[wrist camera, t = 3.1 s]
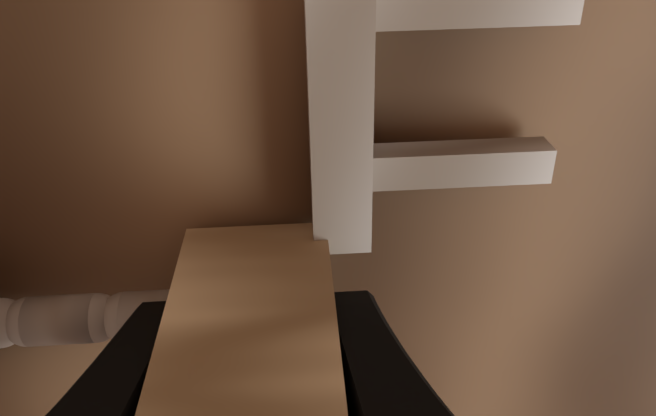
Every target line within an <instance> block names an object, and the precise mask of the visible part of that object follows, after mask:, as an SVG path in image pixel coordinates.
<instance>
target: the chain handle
mask: <svg viewBox="0 0 656 416" xmlns="http://www.w3.org/2000/svg"><path fill="white" fill-rule="evenodd" d="M584 1H585V0H304V11H305V38H306V65H307V92H308V119H309V146H310V173H311V201H312V223H298V224H277V225H256V226H235V227H213V228H192V229H186V232H185V236H184V239H183V243H182V247H181V250H180V254H179V257H178V261H177V265H176V268H175V272H174V276H173V279H172V283H171V286H170V289H164V290H145V291H125V292H119V293H116V294H113V295H112V296H109V295H107V294H103V293H87V294H67V295H48V296H29V297H24V298H21V299H18V300H16V301H15V300H13V299H9V298H0V348H6V347H9V346H12V345H14V344H16V345H18V346H22V347H34V346H52V345H70V344H88V343H100V342H104V341H107V340H108V339H110V338H111V339H112V338H113V337H114V336H115V334H116V333H117V332H118V331H119V329H120V328H121V327H122V326H123V324H124V323H125V322H126V321H127V319H128V318H129V317H130V316H131V315H132V313H133V312H134V311H135V310H136V308H137V307H138V306H139V305H140V304H141V303H142V302H155V301H166V304H165V308H164V312H163V315H162V319H161V323H160V326H159V330H158V333H157V337H156V341H155V344H154V348H153V351H152V355H151V359H150V362H149V366H148V370H147V373H146V377H145V380H144V384H143V388H142V391H141V395H140V398H139V402H138V406H137V409H136V413H135V416H348V410H347V401H346V393H345V384H344V375H343V366H342V357H341V348H340V340H339V331H338V322H337V313H336V304H335V296H334V287H333V278H332V269H331V260H330V254H349V253H369V252H371V245H372V194H373V192H376V191H398V190H420V189H443V188H465V187H487V186H509V185H531V184H551V182H552V176H553V171H554V165H555V160H556V154H557V150H556V149H555V148H554V147H553V146H552V145H551V144H550V143H549V142H548V141H547V140H546V139H545V137H544V136H540V137H516V138H492V139H468V140H444V141H420V142H397V143H374V91H375V40H376V32H384V31H414V30H443V29H473V28H503V27H532V26H562V25H580V23H581V17H582V12H583V6H584Z"/></svg>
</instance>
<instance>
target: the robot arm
mask: <svg viewBox="0 0 656 416" xmlns="http://www.w3.org/2000/svg"><path fill="white" fill-rule="evenodd" d="M334 296H335V304H336V313H337V322H338V331H339V340H340V348H341V357H342V366H343V375H344V384H345V393H346V401H347V410H348V416H455V415H454V414H453V413H452V412H451V411H450V409H449V408H448V407H447V406H446V405H445V403H444V402H443V401H442V400H441V398H440V397H439V396H438V395H437V393H436V392H435V391H434V389H433V388H432V387H431V385H430V384H429V383H428V381H427V380H426V379H425V377H424V376H423V375H422V373H421V372H420V370H419V369H418V368H417V366H416V365H415V363H414V362H413V361H412V359H411V358H410V357H409V355H408V354H407V352H406V351H405V349H404V348H403V346H402V345H401V343H400V342H399V340H398V338H397V337H396V335H395V334H394V332H393V330H392V329H391V327H390V326H389V324H388V322H387V321H386V319H385V317H384V315H383V314H382V312H381V310H380V308H379V306H378V304H377V302H376V300H375V298H374V296H373V295H372V294H371V293H370V292H369V291H368V290H363V291H344V292H334ZM165 304H166V301H155V302H142V303H141V304H140V305H139V306H138V307H137V308H136V310H135V311H134V312H133V313H132V315H131V316H130V317H129V318H128V319H127V321H126V322H125V323H124V324H123V326H122V327H121V328H120V329H119V331H118V332H117V333H116V334H115V336H114V337H113V338H112V339H111V341H110V342H109V343H108V344H107V345H106V347H105V348H104V349H103V350H102V351H101V353H100V354H99V355H98V356H97V358H96V359H95V360H94V361H93V362H92V364H91V365H90V366H89V367H88V368H87V369H86V370H85V372H84V373H83V374H82V375H81V376H80V377H79V379H78V380H77V381H76V382H75V383H74V384H73V385H72V387H71V388H70V389H69V390H68V391H67V392H66V393H65V395H64V396H63V397H62V398H61V399H60V400H59V401H58V402H57V404H56V405H55V406H54V407H53V408H52V409H51V410H50V411H49V412H48V413H47V414H46V415H45V416H135V413H136V409H137V406H138V402H139V398H140V395H141V391H142V388H143V384H144V380H145V377H146V373H147V370H148V366H149V362H150V359H151V355H152V351H153V348H154V344H155V341H156V337H157V333H158V330H159V326H160V323H161V319H162V315H163V312H164V308H165Z"/></svg>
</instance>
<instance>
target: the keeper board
mask: <svg viewBox="0 0 656 416" xmlns="http://www.w3.org/2000/svg"><path fill="white" fill-rule="evenodd" d="M540 136H544V137H545V139H546V140H547V141H548V142H549V143H550V144H551V145H552V146H553V147H554V148H555V149H556V150H557V154H556V160H555V165H554V171H553V176H552V182H551V184H531V185H509V186H487V187H465V188H443V189H420V190H398V191H376V192H373V194H372V245H371V252H369V253H349V254H330V260H331V269H332V278H333V287H334V292H344V291H363V290H368V291H369V292H370V293H371V294H372V295H373V296H374V298H375V300H376V302H377V304H378V306H379V308H380V310H381V312H382V314H383V315H384V317H385V319H386V321H387V322H388V324H389V326H390V327H391V329H392V330H393V332H394V334H395V335H396V337H397V338H398V340H399V342H400V343H401V345H402V346H403V348H404V349H405V351H406V352H407V354H408V355H409V357H410V358H411V359H412V361H413V362H414V363H415V365H416V366H417V368H418V369H419V370H420V372H421V373H422V375H423V376H424V377H425V379H426V380H427V381H428V383H429V384H430V385H431V387H432V388H433V389H434V391H435V392H436V393H437V395H438V396H439V397H440V398H441V400H442V401H443V402H444V403H445V405H446V406H447V407H448V408H449V409H450V411H451V412H452V413H453V414H454V415H455V416H656V0H585V1H584V6H583V12H582V17H581V23H580V25H562V26H532V27H503V28H473V29H443V30H414V31H384V32H376V40H375V91H374V143H397V142H420V141H444V140H468V139H492V138H516V137H540ZM298 223H312V201H311V173H310V146H309V119H308V92H307V65H306V38H305V11H304V0H0V298H9V299H13V300H15V301H16V300H18V299H21V298H24V297H29V296H48V295H67V294H87V293H103V294H107V295H109V296H112V295H113V294H116V293H119V292H125V291H145V290H164V289H170V286H171V283H172V279H173V276H174V272H175V268H176V265H177V261H178V257H179V254H180V250H181V247H182V243H183V239H184V236H185V232H186V229H192V228H213V227H235V226H256V225H277V224H298ZM110 341H111V338H110V339H108V340H107V341H104V342H100V343H88V344H70V345H52V346H34V347H22V346H18V345H16V344H14V345H12V346H9V347H6V348H0V416H45V415H46V414H47V413H48V412H49V411H50V410H51V409H52V408H53V407H54V406H55V405H56V404H57V402H58V401H59V400H60V399H61V398H62V397H63V396H64V395H65V393H66V392H67V391H68V390H69V389H70V388H71V387H72V385H73V384H74V383H75V382H76V381H77V380H78V379H79V377H80V376H81V375H82V374H83V373H84V372H85V370H86V369H87V368H88V367H89V366H90V365H91V364H92V362H93V361H94V360H95V359H96V358H97V356H98V355H99V354H100V353H101V351H102V350H103V349H104V348H105V347H106V345H107V344H108V343H109V342H110Z"/></svg>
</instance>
